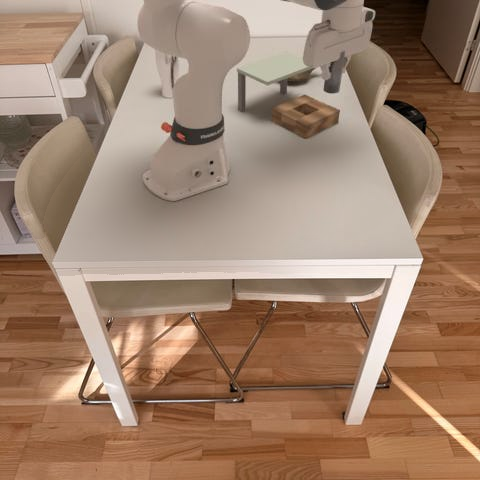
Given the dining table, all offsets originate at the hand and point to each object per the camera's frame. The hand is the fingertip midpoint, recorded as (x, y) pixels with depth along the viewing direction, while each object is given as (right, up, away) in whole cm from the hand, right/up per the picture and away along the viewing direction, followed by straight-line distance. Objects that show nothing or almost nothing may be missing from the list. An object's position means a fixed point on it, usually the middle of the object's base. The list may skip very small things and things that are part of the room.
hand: (333, 76), depth 112 cm
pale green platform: (-12, +1, +29) cm, 32 cm away
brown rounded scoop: (-4, +15, +46) cm, 48 cm away
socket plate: (-4, -6, +22) cm, 23 cm away
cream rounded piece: (-46, +7, +37) cm, 59 cm away
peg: (0, -3, +2) cm, 4 cm away
